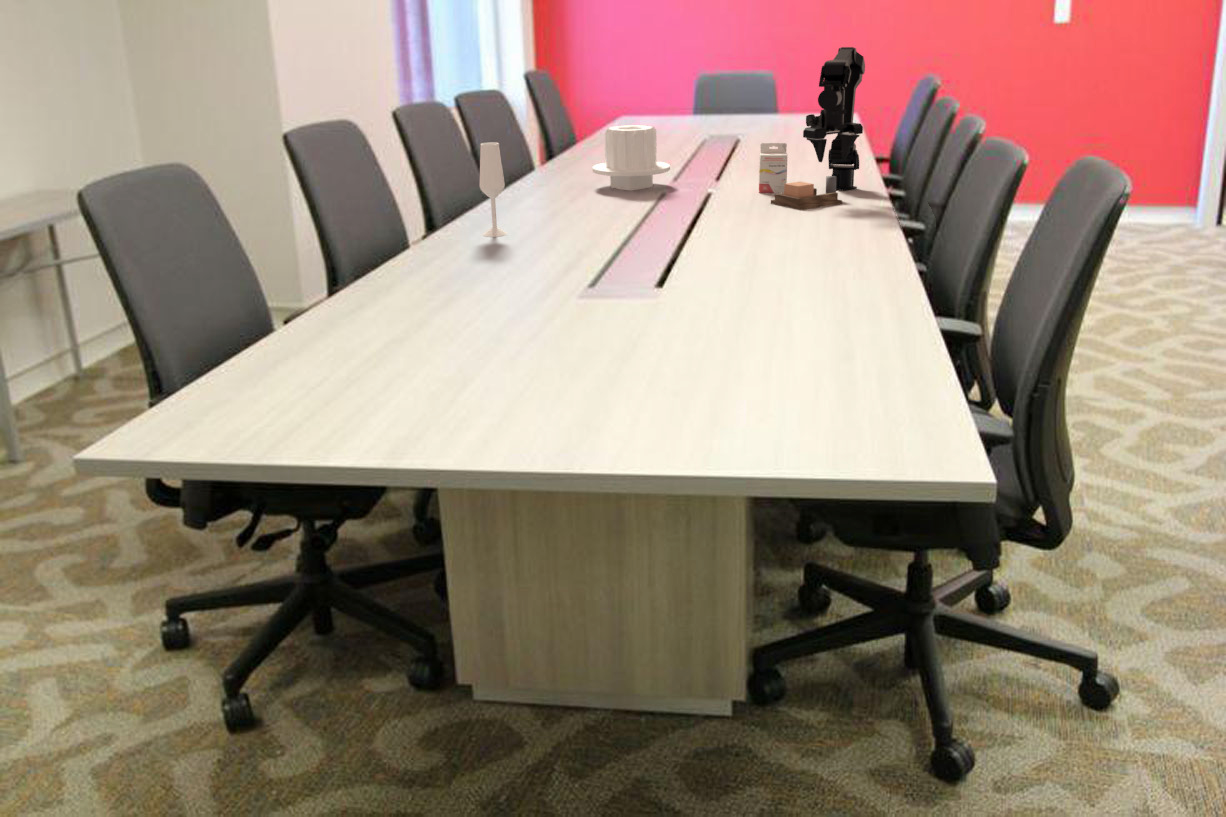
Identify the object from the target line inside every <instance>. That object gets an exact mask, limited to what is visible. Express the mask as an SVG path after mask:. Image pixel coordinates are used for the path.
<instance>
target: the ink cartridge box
mask: <svg viewBox="0 0 1226 817" xmlns="http://www.w3.org/2000/svg"><path fill="white" fill-rule="evenodd" d="M787 146H788V145H787V142H780V143H779V142H765V143H763V142H761V144H760V153H759V162H758V163H759V165H758V167H759V170H758V171H759V172H758V173H759V174H758V193H759V194H762V193H763V194H768V193H769V194H773V193H774V194H778V193H784V184H786V183H788V181H787V178H788V152H787ZM773 147H775V148H773Z"/></svg>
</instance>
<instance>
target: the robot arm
mask: <svg viewBox="0 0 1226 817" xmlns="http://www.w3.org/2000/svg"><path fill="white" fill-rule="evenodd" d="M865 71H866V62H865V58H864V56H863V55H862V54H860V52H858V51H857V48H856V47H854V46H844V47H843V46H842V47H839V48H838V51H837V53H836V55H835V57H834V58H833V59H829V60H826V61H825V62H824V63H823V65H822V66H821V70H820V76H819V81H818V87H819V88H823V90H822V91H821V92H820V93H819V94H818V97H817V103H818V105H819V107H820V108H821V109H820V112H819V113H820V115H816V116H815V114H814V113H813V114H812V113H811V114H808V115H806V116H805V125H806V126H807V127H804V129H803V131H802V136H803V137H802V138H805V139H806V141H809V142H810V143H811V144H812V146H813V148H814V150H815V153H816V158H817V161H818V163H823V161H824V157H825V150H826V146H827V142H828V140H827V138H826V137H827V136H828V135H835V134H836V136H835V138H834V139H833V140H832V141H831V145H830V148H829V150H828V169H829V170H832V173H831V176H836V191H838V190H839V191H847V190H854V189H857V188H858V187H857V186H856V185H855V184H854V181H855V178H854V177H855V171H857V170H860V155H859V153H858V150H857V145H856V143H855V142H856V140H857V139H858V138H859V137H860V135H861V134H863V131H864V127H863V125H862V123H859V122H857V123H856V122H854V113H855V103H856V102H855V101H856V90H857V89H858V86H860V84H861V83H862V81H863V75H865Z"/></svg>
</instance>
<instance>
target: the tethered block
mask: <svg viewBox="0 0 1226 817" xmlns="http://www.w3.org/2000/svg"><path fill="white" fill-rule="evenodd" d="M814 188H815V184H814V183H810V182H806V181H795V182H787V183H786V184H784V195H788V196H792V197H797V198H800V197H807V196H813V193H814ZM833 192H837V189H836V176H832V175H828V176H826V177H825V194H827V193H833Z"/></svg>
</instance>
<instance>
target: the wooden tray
mask: <svg viewBox="0 0 1226 817" xmlns="http://www.w3.org/2000/svg"><path fill="white" fill-rule="evenodd" d="M817 191H818V189H817V188H815V187H814V193H813V196H807V197H800V198H797V197H792V196H788V195H784V193H774V199H770V204H772V205H777V206H781V207H787V208H791V209H796V210H799V211H804V210H805V211H806V210H811V209H817V208H823V207H830V206H837V205H842V204H843V202H842V199H839V198H838V197H839V196H838V194H839V193H838V192H837V191H836V192H833V193H827V194H826V193H822V194H821V193H820V194H818V192H817Z"/></svg>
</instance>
